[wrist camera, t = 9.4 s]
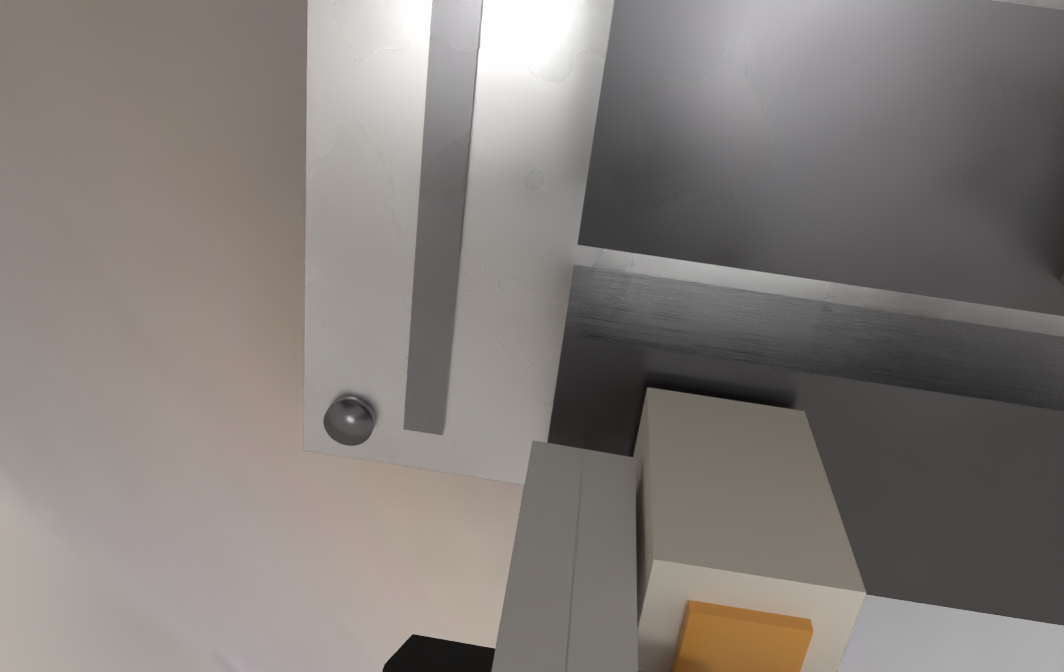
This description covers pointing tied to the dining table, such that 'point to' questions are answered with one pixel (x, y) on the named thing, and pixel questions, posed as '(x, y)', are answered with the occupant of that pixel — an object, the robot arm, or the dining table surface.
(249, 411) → the dining table surface
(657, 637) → the block with orange pad
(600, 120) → the panel
